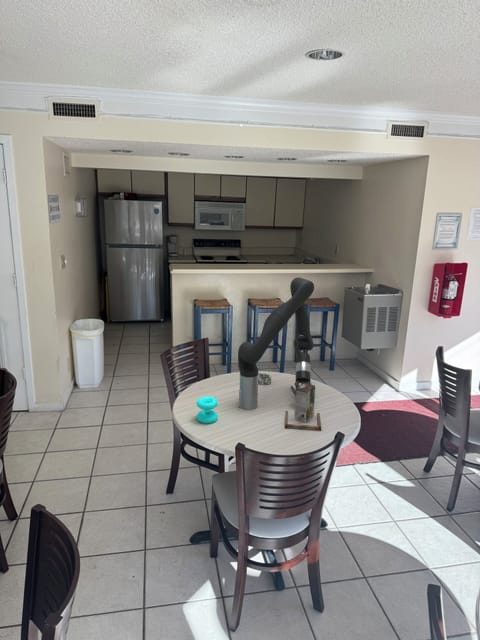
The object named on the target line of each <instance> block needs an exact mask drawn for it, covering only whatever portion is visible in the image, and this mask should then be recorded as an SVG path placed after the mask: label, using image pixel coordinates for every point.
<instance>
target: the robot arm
mask: <svg viewBox="0 0 480 640" xmlns="http://www.w3.org/2000/svg"><path fill="white" fill-rule="evenodd" d="M289 285H290V286H289V289H290V294H291V297H290V299H287V300H286V301H285V302H284V303H282V304H280V305H278V306H277V307H275V308H274V309H273V310H271V312H270V314H268V316H267V318H266V319H265V320H264V322H263V327H262V331H261V333H260V335H259V337H258V338H257V339H256V341H255V342H253V343H252V342H251V341H244V342H242V343H241V344H240V345H239V346H238V351H237V364H238V369H239V390H238V408H239V409H243V410H249V411H251V410H255V409H257V408H258V403H259V402H258V400H259V380H258V373H259V368H258V366H257V364H256V363H258V362H259V361H260V360H261V359H262V357H263V356H264V354H265V353H266V351H267V350H268V348H269V346H270V345H271V344H272V342H273V341H274V339H276V337H277V336H278V334H279V333H280V332H281V331H282V330H283V328H284V327H285V326H286V325H287V323H288V322H289V321H290V319H291V318H292V317H293V316H294V315H295V316H294V317H295V329H296V334H297V335H299V337H298V336H297V337H295V338H294V340H293V343H292V344H293V348H294V351H295V355H296V365H295V382H294V384H293V385H290V391H291V392H292V393H293V394H294V396H296V388H297V387H299V386H300V385H301V384H302V383H303V382H304V383H308V384H311V385H312V382H311V375H312V374H311V370H312V369H311V355H310V353H308V352H305V351H312V350H313V349H314V348H315V347H314V346H315V345H314V344H315V343H314V341H313V340H314V339H313V337H312V334H311V326H310V325H311V324H310V317H309V313H308V311H307V308H306V306H305V302H306V301H308V300H309V298H310V297H311V296H312V295H313V293H314V290H315V284H314V282H313V281H311V280H309V279H306V278H303V277H294V278H293V279H292V280H291V282H290V284H289ZM300 336H302V337H300Z"/></svg>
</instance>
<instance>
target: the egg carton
mask: <svg viewBox="0 0 480 640" xmlns="http://www.w3.org/2000/svg"><path fill="white" fill-rule="evenodd" d="M258 385H262V386H264V385H267V386H270V385H272V375H270V374H269V373H268V374H267V373H263V372H262V373H261V372H258Z"/></svg>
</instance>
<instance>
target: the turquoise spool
mask: <svg viewBox="0 0 480 640" xmlns="http://www.w3.org/2000/svg"><path fill="white" fill-rule="evenodd" d="M218 404H219V402H218V399H216V398H215V397H213V396H203V397H200V398H198V399H197V401H196V406H197V407H198V409H200V411H199V412H198V413H197V415H196V419H197V421H198V422H200V423H201V422H202V423H201V424H213V423H215V422H216V421H217V420H218V417H219V415H218V413H217V412H216V411H215V410H214V409H215V408H217V406H218Z"/></svg>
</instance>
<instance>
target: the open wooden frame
mask: <svg viewBox="0 0 480 640" xmlns="http://www.w3.org/2000/svg"><path fill="white" fill-rule="evenodd" d="M284 416H285V419H284V429H285V430H287V429H288V430H301V431H302V430H303V431H315V432H316V431H317V432H321V431H322V422H321V421H322V420H321V414H320V412H316V421H317V422H316V423H317V425H313V424H312V425H311V424H310V425H309V424H296V423H295V424H294V423H289V422H288V421H289V411H288V410H285V415H284Z"/></svg>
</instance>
